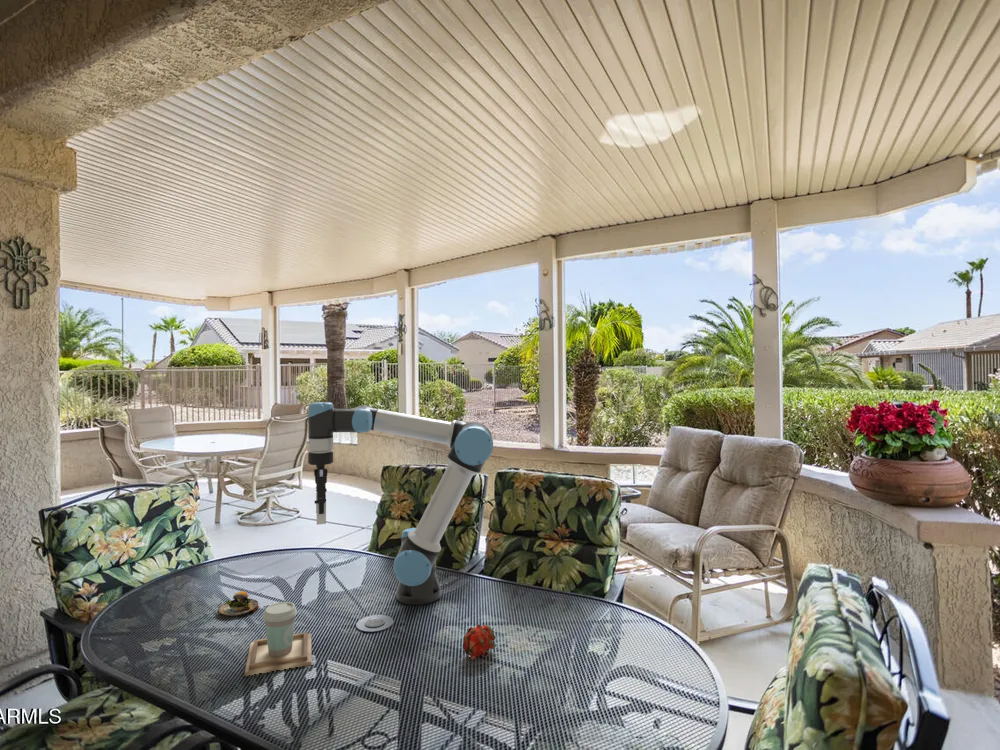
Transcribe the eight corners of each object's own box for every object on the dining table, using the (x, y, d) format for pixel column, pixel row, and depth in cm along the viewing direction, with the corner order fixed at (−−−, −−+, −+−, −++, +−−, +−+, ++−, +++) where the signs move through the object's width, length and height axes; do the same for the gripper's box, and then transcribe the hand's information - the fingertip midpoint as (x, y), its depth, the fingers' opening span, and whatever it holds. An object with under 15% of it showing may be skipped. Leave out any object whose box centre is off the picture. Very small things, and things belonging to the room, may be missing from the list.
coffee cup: (285, 661, 143) (285, 616, 143) (256, 657, 144) (256, 613, 144) (303, 645, 151) (303, 602, 151) (275, 642, 153) (275, 599, 153)
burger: (209, 615, 172) (209, 592, 172) (240, 601, 183) (239, 579, 183) (237, 622, 167) (237, 598, 167) (267, 607, 178) (267, 584, 178)
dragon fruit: (492, 650, 153) (471, 677, 143) (470, 628, 156) (448, 654, 145) (507, 632, 150) (486, 658, 140) (484, 610, 153) (461, 634, 142)
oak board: (311, 636, 158) (311, 630, 158) (311, 665, 143) (311, 657, 143) (251, 646, 153) (250, 639, 153) (244, 676, 138) (244, 668, 137)
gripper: (308, 446, 182) (308, 509, 182) (308, 457, 159) (308, 530, 159) (331, 445, 185) (331, 507, 185) (334, 456, 161) (335, 527, 161)
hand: (320, 518), depth 172 cm, fingers open, 13 cm apart
